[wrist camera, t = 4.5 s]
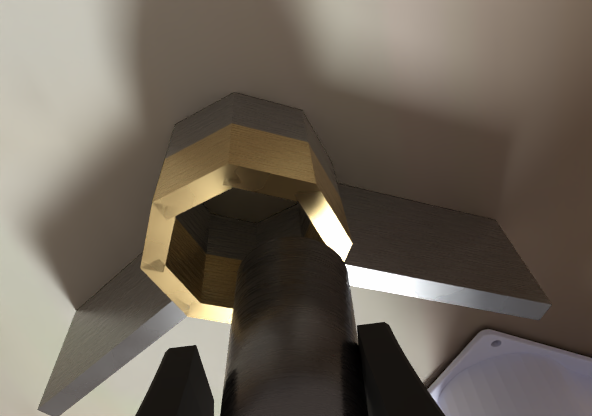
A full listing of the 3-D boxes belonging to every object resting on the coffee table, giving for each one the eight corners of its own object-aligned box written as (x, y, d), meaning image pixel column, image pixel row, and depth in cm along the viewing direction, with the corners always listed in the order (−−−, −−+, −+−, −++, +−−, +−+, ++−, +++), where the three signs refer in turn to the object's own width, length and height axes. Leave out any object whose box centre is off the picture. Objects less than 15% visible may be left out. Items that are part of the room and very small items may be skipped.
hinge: (528, 169, 20) (597, 248, 16) (401, 366, 27) (427, 457, 23) (100, 57, 17) (49, 122, 13) (75, 317, 23) (36, 416, 19)
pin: (390, 254, 13) (492, 654, 7) (322, 342, 15) (349, 719, 9) (256, 203, 12) (220, 612, 6) (201, 304, 14) (126, 697, 8)
